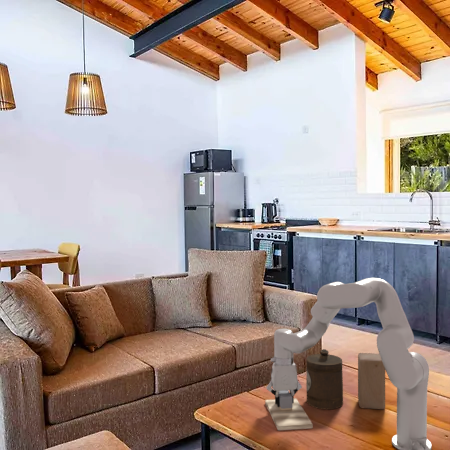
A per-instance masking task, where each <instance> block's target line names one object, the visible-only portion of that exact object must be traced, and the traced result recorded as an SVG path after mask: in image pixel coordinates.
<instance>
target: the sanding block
mask: <svg viewBox="0 0 450 450" xmlns="http://www.w3.org/2000/svg"><path fill="white" fill-rule="evenodd" d="M279 397H280V409H281V410H291V409H292V396H291V394H290V390H282V391H279Z"/></svg>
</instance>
